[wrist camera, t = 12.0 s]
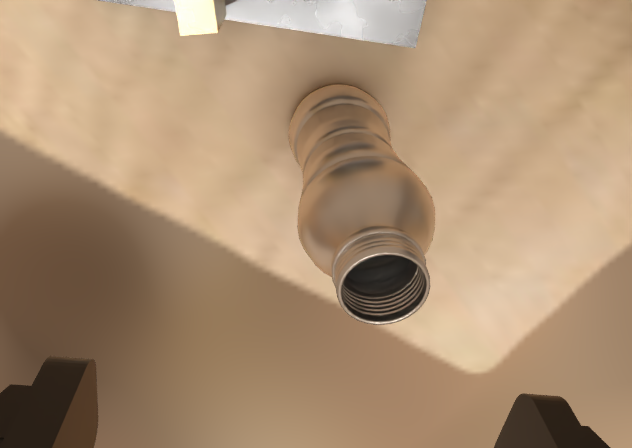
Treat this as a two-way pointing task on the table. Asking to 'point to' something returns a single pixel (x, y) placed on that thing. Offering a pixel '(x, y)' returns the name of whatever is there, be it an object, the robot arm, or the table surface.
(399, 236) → the plastic bottle
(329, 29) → the plate
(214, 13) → the knob
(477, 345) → the table surface
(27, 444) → the robot arm
